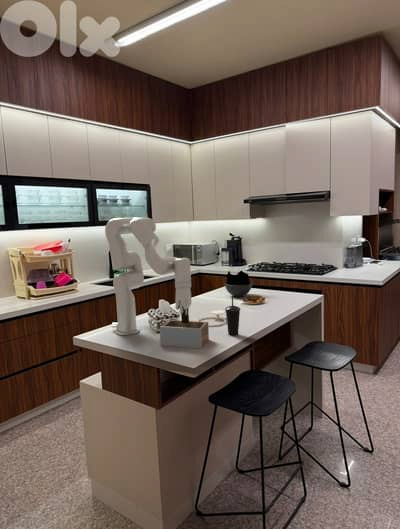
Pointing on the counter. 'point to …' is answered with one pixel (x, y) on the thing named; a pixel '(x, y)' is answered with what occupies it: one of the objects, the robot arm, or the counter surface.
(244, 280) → the coal bowl
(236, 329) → the drinking cup
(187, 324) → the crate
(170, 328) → the panel
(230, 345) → the counter surface
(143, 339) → the counter surface
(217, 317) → the hand towel holder
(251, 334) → the counter surface
